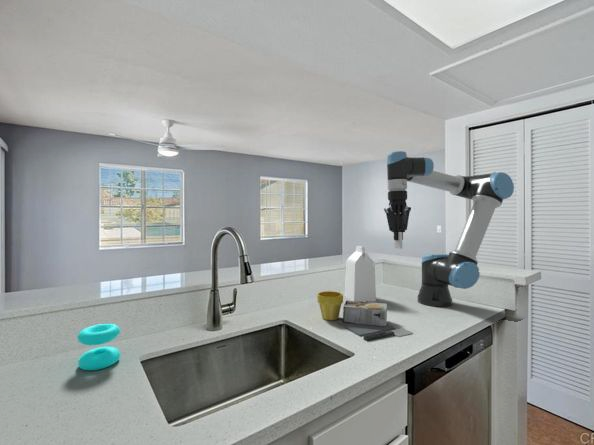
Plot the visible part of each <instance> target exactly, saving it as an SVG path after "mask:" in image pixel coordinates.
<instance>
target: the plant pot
mask: <svg viewBox="0 0 594 445" xmlns="http://www.w3.org/2000/svg"><path fill="white" fill-rule="evenodd" d="M316 295H317V303H318V304H319V308H320V309H319V310H320V313H321V318H322V319H323V320H325V321H336V320H338V319H339V318H340V312H341V306H342V304H343V303H344V294H343V293H342V292H340V291H333V290H328V291H327V290H326V291H325V290H324V291H320V292H318V293H317V294H316Z"/></svg>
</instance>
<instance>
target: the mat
mask: <svg viewBox="0 0 594 445" xmlns="http://www.w3.org/2000/svg"><path fill="white" fill-rule="evenodd" d="M336 323H337V324H338V325H339V326H340V327H342V328H344V329H347V330H348V331H350V332H351V333H353V334H355V335H357V336H359V337H362V336H368V335H373V334H378V333H383V332H388V331H391V330H396V327H394V325H391V324H388V323H387V325H386V326H376V325H366V324H356V323H346V322H343V320H342V321H338V322H336Z"/></svg>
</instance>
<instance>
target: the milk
mask: <svg viewBox="0 0 594 445" xmlns="http://www.w3.org/2000/svg"><path fill="white" fill-rule="evenodd" d="M375 265H376V264H375V262H374V260H373V259H372V258H371V257H370V256H369V254H368V253H366V250H365V247H364V246H361V245H356V247H355V251H354V252H353V253H352V254H351V255H349V257H348V258H347V259H346V262H345V280H344V294H343V296H344V295H345V296H346V297H345V296H344V297H345V298H347V297H348V298H349V299H348V298H347V299H348V300H349V301H351V300H352V301H359V302H364V301H368V302H377V292H376V290H377V289H376V268H375V267H376V266H375Z"/></svg>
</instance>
